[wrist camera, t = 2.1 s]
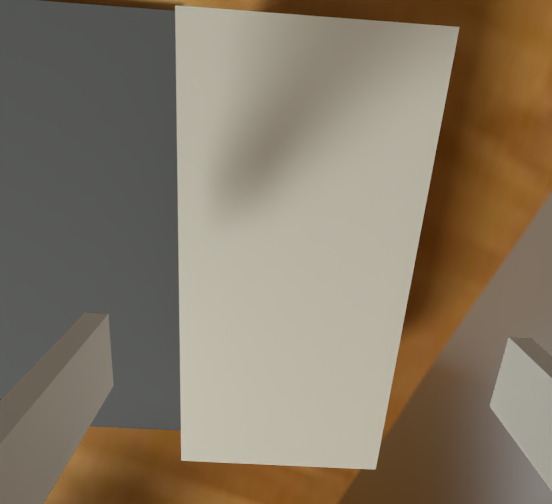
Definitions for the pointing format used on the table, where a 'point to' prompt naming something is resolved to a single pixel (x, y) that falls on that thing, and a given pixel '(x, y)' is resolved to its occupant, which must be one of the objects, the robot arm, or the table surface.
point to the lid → (298, 226)
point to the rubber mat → (91, 196)
